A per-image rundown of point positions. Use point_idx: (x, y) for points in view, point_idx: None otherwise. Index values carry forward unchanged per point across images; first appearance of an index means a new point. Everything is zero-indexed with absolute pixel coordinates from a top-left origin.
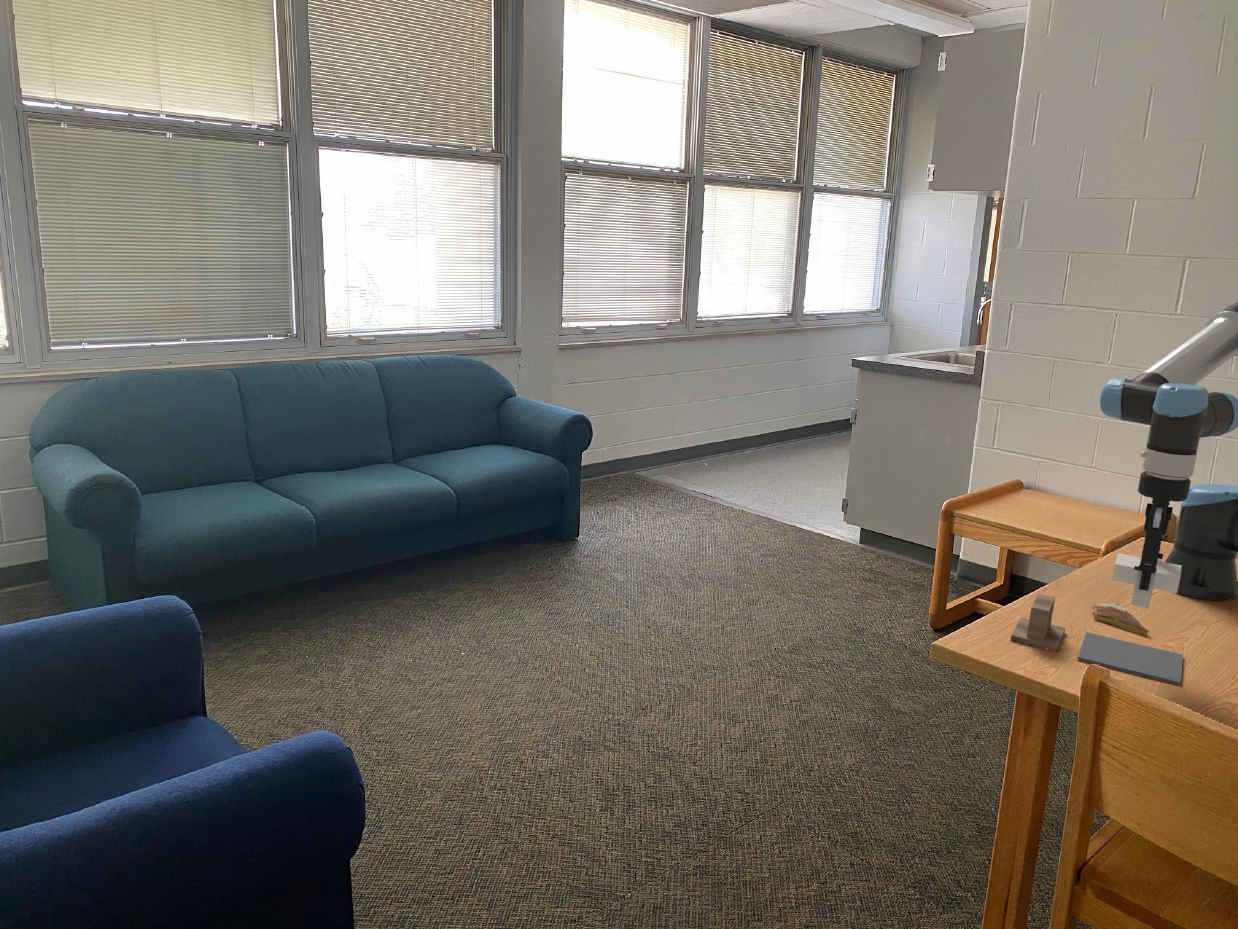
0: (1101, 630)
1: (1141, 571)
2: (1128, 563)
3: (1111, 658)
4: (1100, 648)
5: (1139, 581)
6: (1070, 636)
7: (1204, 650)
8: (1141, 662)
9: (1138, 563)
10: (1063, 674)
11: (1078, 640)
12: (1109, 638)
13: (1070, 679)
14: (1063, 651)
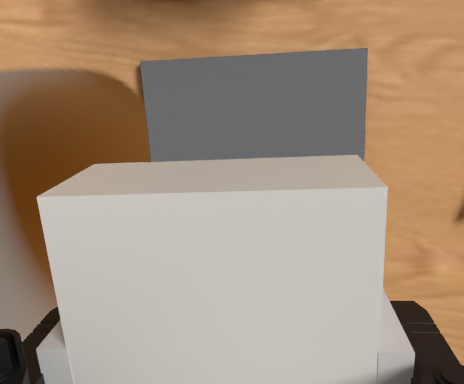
0: (442, 86)
1: (42, 364)
2: (139, 284)
3: (198, 146)
4: (252, 109)
5: None
6: (321, 6)
7: (451, 342)
8: None
9: (197, 344)
10: (19, 46)
11: (302, 36)
12: (355, 121)
13: (3, 69)
14: (179, 12)
